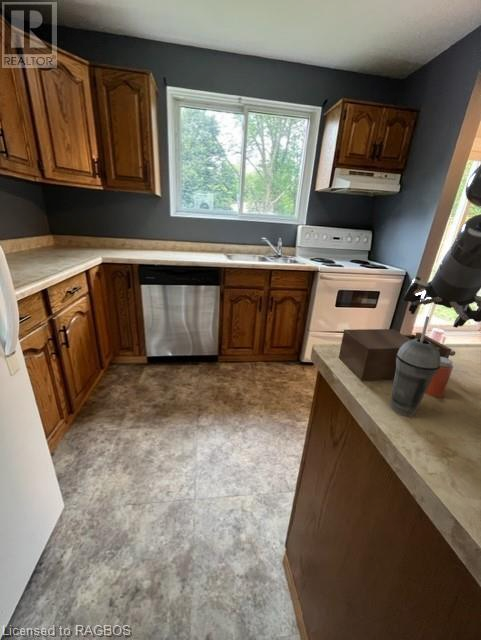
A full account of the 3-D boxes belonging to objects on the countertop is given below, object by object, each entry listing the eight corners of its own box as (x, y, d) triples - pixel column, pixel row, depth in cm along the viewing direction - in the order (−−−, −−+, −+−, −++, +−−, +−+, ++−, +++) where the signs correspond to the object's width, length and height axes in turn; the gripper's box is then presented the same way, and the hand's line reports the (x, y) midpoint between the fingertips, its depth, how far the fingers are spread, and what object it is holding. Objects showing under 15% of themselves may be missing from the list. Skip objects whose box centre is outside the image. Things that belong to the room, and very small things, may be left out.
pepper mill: (433, 386, 64) (444, 355, 61) (447, 397, 61) (459, 364, 58) (418, 387, 64) (428, 355, 61) (431, 398, 60) (443, 364, 57)
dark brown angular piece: (426, 353, 79) (433, 332, 77) (457, 372, 70) (466, 348, 67) (370, 355, 77) (376, 333, 74) (395, 374, 67) (402, 350, 65)
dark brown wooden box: (385, 356, 78) (393, 329, 75) (415, 378, 68) (425, 347, 65) (338, 357, 76) (344, 329, 73) (361, 380, 65) (368, 348, 62)
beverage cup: (387, 417, 53) (415, 322, 46) (379, 395, 60) (402, 310, 53) (428, 424, 52) (463, 328, 45) (415, 401, 59) (443, 314, 52)
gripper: (518, 265, 47) (475, 315, 60) (425, 247, 53) (405, 295, 67) (510, 298, 44) (466, 342, 58) (413, 274, 51) (394, 319, 64)
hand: (433, 317), depth 62 cm, fingers open, 8 cm apart
